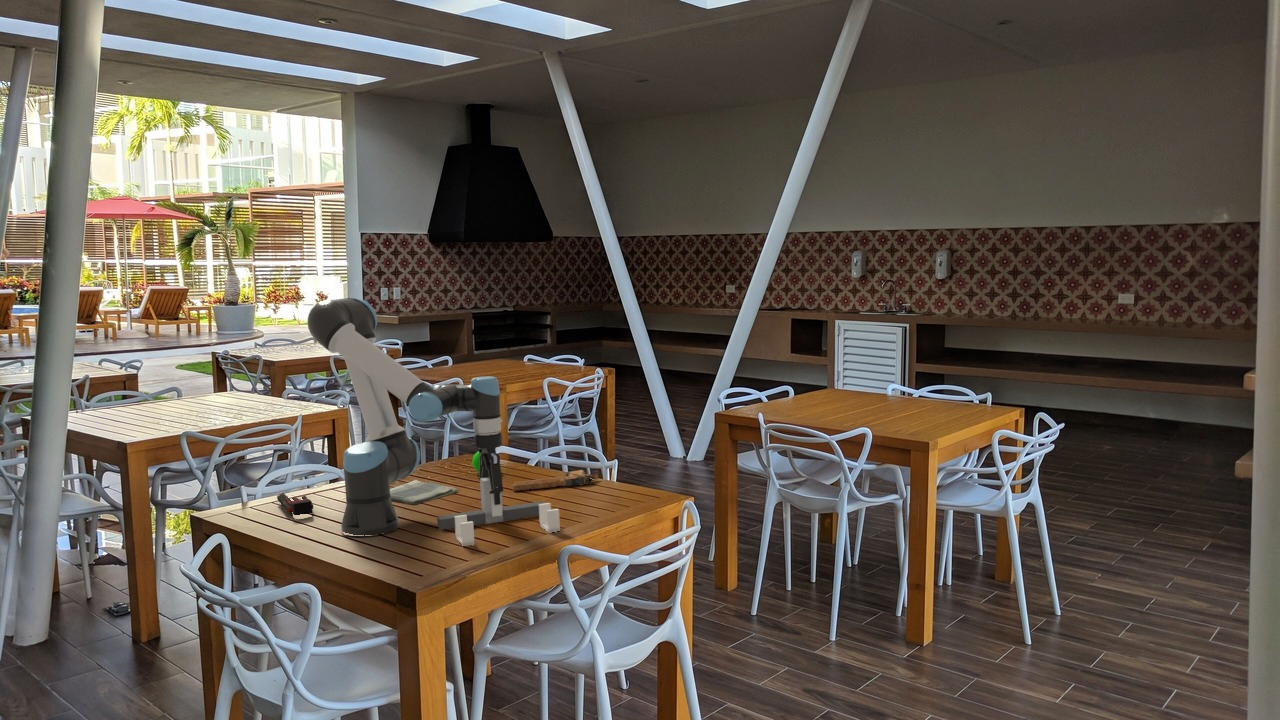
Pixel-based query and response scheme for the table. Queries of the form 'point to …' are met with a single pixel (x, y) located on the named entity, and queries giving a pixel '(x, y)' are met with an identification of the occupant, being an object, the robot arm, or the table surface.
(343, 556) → the table surface
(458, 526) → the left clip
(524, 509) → the bar
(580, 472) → the decorative handgun
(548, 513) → the right clip
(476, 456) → the ornament
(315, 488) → the table surface
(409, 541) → the table surface
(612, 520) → the table surface
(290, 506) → the toy
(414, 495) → the dish towel
